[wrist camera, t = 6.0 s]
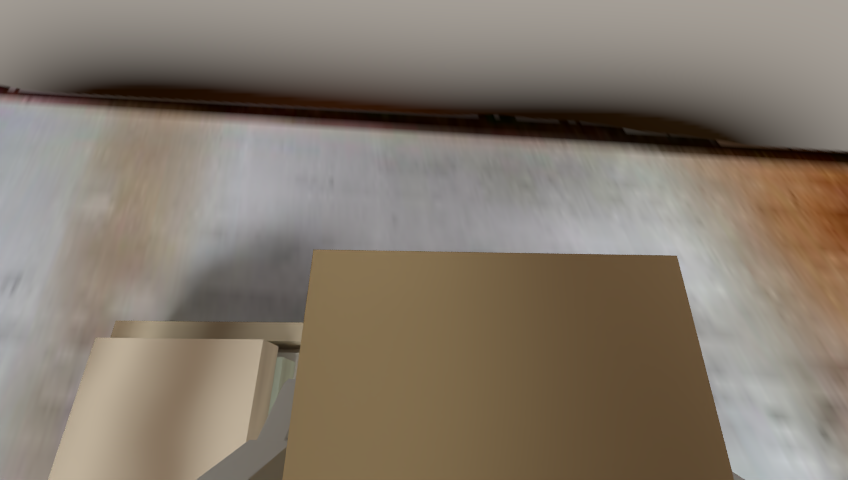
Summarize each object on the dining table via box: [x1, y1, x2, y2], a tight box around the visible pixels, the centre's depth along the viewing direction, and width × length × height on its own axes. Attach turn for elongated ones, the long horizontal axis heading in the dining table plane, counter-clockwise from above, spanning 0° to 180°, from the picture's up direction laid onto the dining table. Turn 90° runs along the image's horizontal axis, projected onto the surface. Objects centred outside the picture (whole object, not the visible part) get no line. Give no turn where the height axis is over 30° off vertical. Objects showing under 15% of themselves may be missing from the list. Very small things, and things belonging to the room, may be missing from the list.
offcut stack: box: [48, 338, 299, 480], centre depth 19 cm, size 8×7×6 cm
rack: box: [110, 321, 303, 353], centre depth 21 cm, size 24×10×4 cm, turn 89°
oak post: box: [282, 250, 734, 480], centre depth 9 cm, size 4×4×11 cm
